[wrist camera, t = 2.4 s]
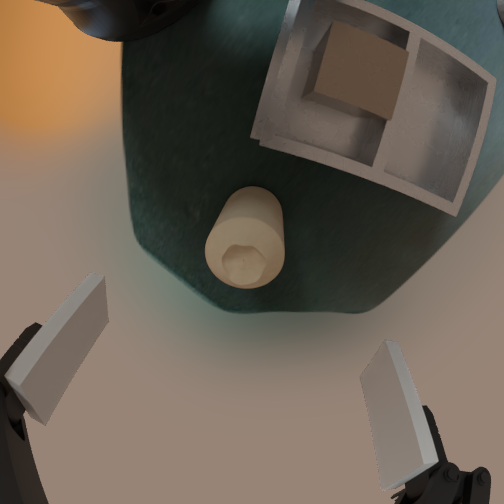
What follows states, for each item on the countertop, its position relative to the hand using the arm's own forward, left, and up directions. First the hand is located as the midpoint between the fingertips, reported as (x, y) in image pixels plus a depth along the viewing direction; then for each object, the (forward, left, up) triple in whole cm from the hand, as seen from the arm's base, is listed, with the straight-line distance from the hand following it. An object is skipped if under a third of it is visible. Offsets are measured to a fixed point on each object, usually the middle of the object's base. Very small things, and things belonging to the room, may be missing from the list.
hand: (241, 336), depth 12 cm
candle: (-1, 0, -17) cm, 17 cm away
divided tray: (+7, +14, -17) cm, 23 cm away
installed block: (+3, +14, -16) cm, 21 cm away
